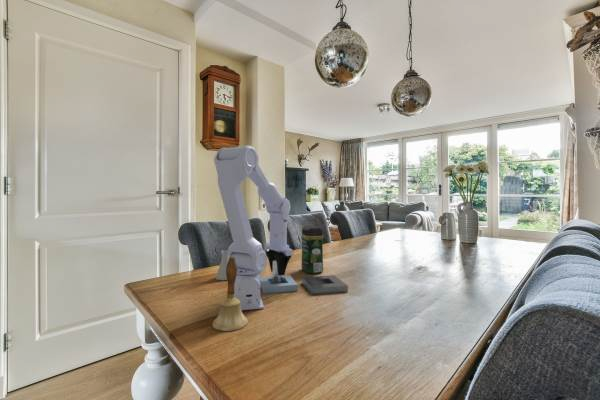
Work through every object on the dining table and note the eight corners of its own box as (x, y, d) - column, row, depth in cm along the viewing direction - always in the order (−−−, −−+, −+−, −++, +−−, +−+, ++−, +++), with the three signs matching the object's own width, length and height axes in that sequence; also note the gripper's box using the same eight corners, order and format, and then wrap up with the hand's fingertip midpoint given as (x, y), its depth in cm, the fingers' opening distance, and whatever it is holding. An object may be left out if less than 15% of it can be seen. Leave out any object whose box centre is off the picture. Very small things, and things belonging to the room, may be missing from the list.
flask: (237, 275, 108) (238, 249, 108) (231, 281, 101) (231, 253, 101) (219, 275, 109) (219, 249, 109) (212, 280, 102) (212, 252, 102)
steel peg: (284, 283, 94) (285, 261, 94) (272, 284, 94) (273, 261, 94) (283, 280, 98) (283, 258, 98) (272, 280, 98) (272, 258, 98)
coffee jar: (299, 268, 119) (299, 224, 119) (316, 267, 122) (317, 224, 121) (306, 275, 110) (307, 227, 110) (325, 273, 112) (326, 226, 112)
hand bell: (233, 313, 75) (233, 252, 74) (255, 322, 69) (255, 257, 69) (205, 324, 68) (205, 257, 68) (226, 335, 63) (226, 263, 63)
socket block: (347, 291, 92) (347, 285, 92) (312, 294, 89) (312, 288, 89) (333, 280, 103) (334, 275, 103) (302, 282, 100) (302, 277, 100)
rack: (297, 290, 92) (297, 284, 92) (263, 293, 89) (263, 287, 89) (290, 280, 103) (290, 275, 103) (259, 282, 100) (259, 277, 100)
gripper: (300, 234, 92) (300, 276, 92) (277, 229, 104) (277, 267, 104) (281, 236, 88) (281, 280, 88) (260, 231, 100) (259, 269, 100)
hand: (277, 273), depth 96 cm, fingers closed on steel peg, 4 cm apart
